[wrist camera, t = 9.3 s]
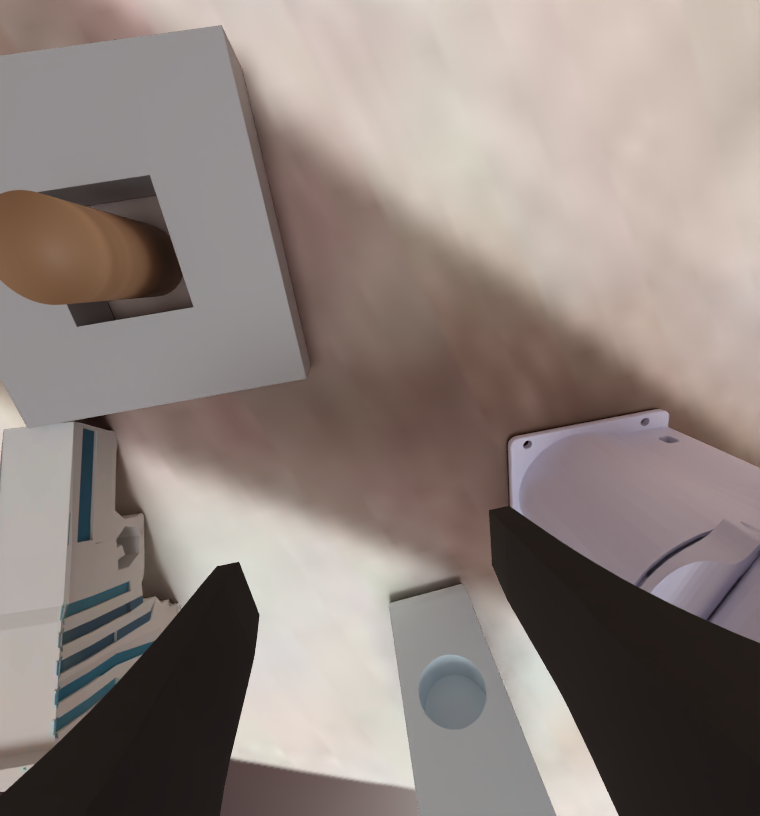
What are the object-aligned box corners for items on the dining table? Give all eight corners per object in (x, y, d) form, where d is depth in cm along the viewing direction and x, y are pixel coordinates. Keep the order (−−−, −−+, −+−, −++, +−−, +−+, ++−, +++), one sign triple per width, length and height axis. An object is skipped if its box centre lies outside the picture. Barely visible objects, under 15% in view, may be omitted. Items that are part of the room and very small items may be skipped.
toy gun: (132, 685, 22) (-60, 847, 12) (137, 448, 25) (-12, 423, 15) (183, 677, 22) (36, 830, 12) (182, 443, 25) (63, 414, 15)
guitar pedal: (507, 762, 32) (614, 1070, 20) (445, 780, 32) (512, 1100, 19) (470, 569, 24) (612, 885, 11) (387, 591, 24) (436, 934, 11)
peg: (165, 215, 15) (62, 177, 10) (194, 287, 16) (116, 291, 11) (96, 232, 15) (-48, 204, 10) (129, 303, 16) (18, 315, 11)
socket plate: (241, 68, 14) (221, 25, 12) (311, 366, 18) (306, 378, 16) (-77, 114, 13) (-166, 78, 11) (69, 409, 18) (28, 428, 15)
